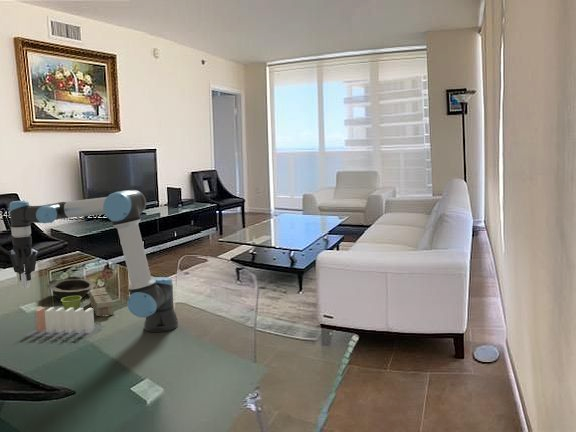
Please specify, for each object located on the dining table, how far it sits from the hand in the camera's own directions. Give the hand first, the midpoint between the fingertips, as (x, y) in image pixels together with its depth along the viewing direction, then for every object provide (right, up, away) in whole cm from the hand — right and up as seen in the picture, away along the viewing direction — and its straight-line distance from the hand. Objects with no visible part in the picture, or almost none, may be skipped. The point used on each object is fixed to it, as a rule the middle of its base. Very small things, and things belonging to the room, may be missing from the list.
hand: (26, 287), depth 211 cm
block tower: (+21, -17, +32) cm, 42 cm away
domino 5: (+24, -20, +1) cm, 31 cm away
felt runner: (+17, -20, +2) cm, 27 cm away
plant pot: (+10, -18, +24) cm, 31 cm away
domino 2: (+10, -20, +2) cm, 22 cm away
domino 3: (+15, -20, +2) cm, 25 cm away
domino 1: (+6, -20, +2) cm, 21 cm away
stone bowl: (-4, -14, +56) cm, 57 cm away
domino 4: (+19, -20, +1) cm, 28 cm away
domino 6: (+28, -20, +1) cm, 35 cm away
